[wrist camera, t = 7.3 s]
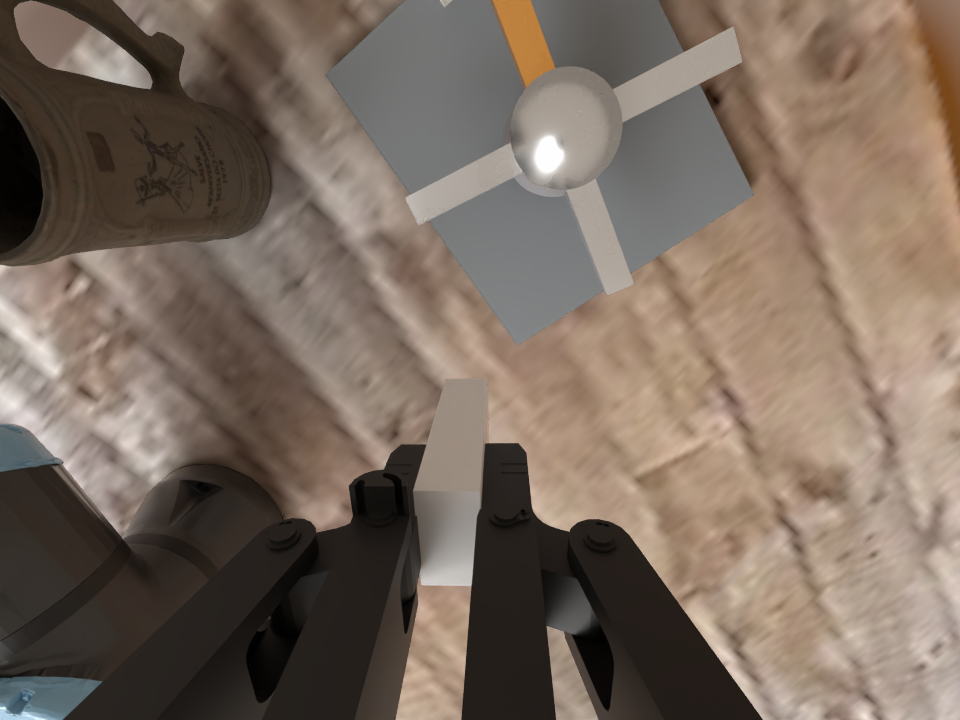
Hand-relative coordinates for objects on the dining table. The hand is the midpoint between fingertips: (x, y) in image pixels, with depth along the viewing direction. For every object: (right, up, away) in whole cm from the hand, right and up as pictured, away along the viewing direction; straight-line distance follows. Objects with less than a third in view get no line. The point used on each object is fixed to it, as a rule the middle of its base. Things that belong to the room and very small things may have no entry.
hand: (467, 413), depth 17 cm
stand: (+6, +19, +20) cm, 28 cm away
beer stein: (-23, +20, +22) cm, 37 cm away
